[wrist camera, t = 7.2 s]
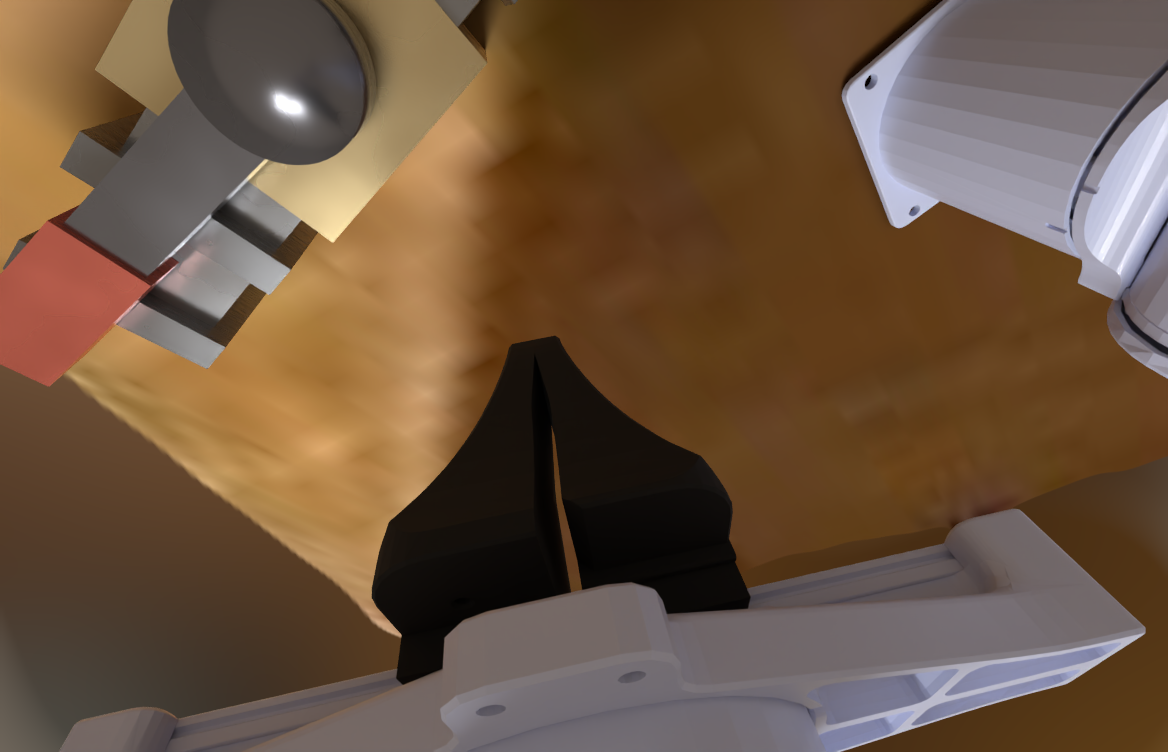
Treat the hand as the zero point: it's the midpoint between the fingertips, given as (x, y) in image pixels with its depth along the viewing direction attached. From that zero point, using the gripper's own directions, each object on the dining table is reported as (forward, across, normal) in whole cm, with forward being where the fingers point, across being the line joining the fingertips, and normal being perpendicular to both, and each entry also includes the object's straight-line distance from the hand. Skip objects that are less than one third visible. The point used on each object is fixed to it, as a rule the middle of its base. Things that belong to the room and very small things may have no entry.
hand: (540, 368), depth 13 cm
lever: (+4, +9, -5) cm, 11 cm away
